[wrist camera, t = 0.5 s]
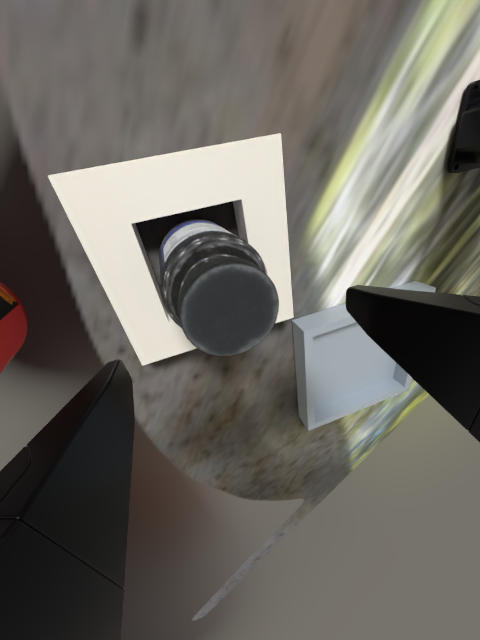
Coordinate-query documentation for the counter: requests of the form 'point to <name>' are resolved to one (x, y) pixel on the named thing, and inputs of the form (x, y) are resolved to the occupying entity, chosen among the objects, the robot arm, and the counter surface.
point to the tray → (342, 365)
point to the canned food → (11, 325)
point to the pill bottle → (216, 288)
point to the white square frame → (167, 199)
